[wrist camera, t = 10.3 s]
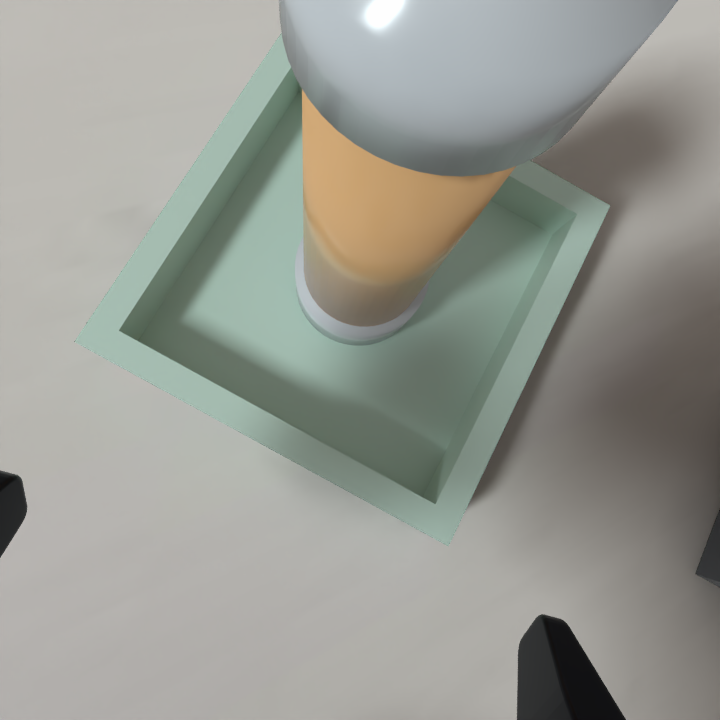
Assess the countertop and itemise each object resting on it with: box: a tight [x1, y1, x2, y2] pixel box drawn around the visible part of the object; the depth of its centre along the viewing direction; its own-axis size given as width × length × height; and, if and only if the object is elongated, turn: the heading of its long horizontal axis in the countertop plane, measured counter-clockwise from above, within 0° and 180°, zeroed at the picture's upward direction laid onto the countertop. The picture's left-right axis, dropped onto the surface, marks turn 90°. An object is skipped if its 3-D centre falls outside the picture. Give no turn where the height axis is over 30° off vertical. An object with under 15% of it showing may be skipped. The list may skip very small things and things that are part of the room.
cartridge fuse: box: [279, 0, 678, 346], centre depth 13 cm, size 5×5×15 cm
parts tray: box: [75, 33, 610, 546], centre depth 20 cm, size 14×14×3 cm
